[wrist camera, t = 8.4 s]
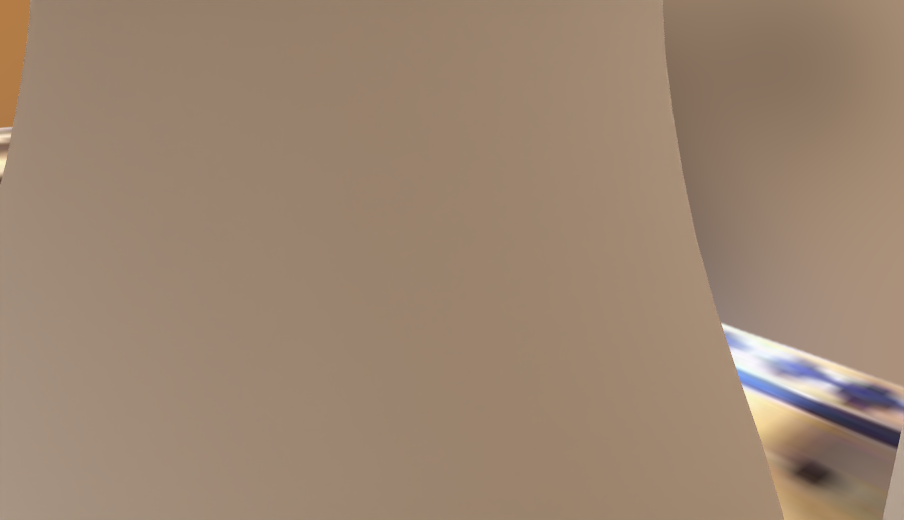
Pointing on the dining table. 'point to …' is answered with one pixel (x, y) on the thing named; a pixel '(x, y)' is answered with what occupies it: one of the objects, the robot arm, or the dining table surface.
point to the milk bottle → (359, 269)
